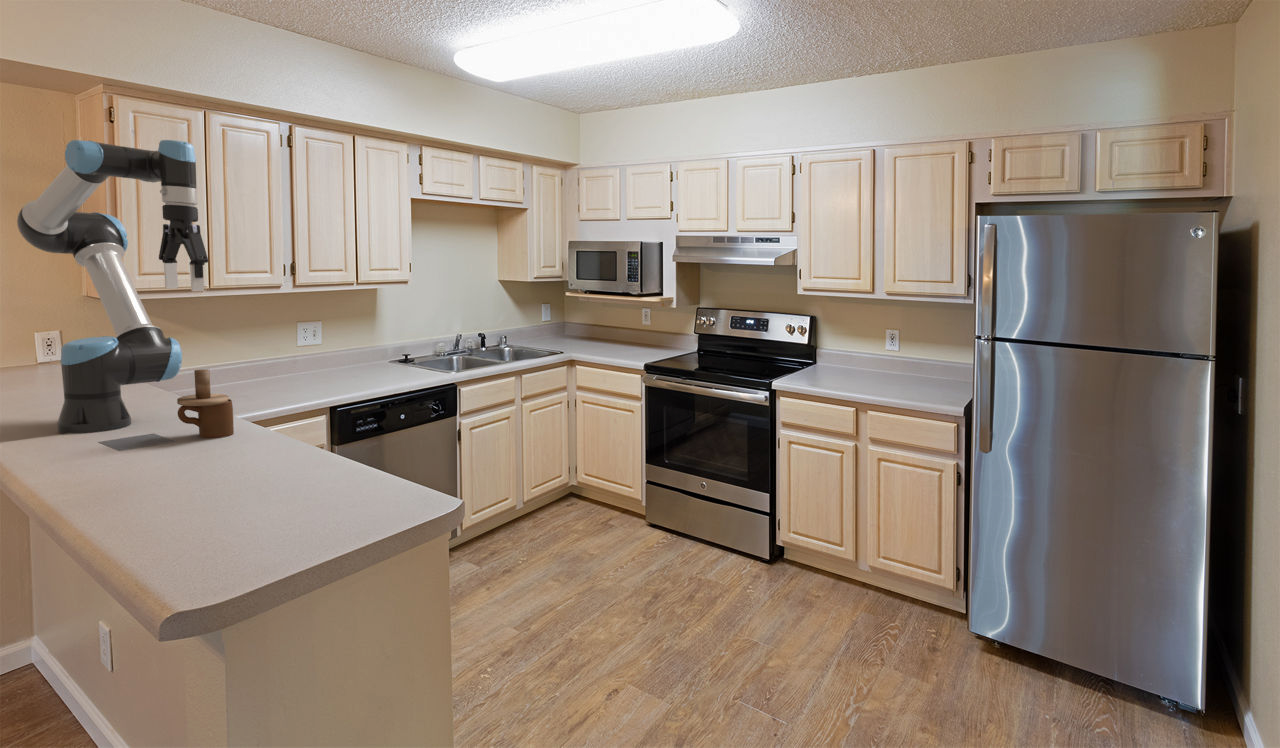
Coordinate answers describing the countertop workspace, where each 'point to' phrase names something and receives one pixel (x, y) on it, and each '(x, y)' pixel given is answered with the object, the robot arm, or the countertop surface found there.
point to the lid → (202, 392)
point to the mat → (136, 442)
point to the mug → (211, 419)
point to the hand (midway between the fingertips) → (184, 290)
